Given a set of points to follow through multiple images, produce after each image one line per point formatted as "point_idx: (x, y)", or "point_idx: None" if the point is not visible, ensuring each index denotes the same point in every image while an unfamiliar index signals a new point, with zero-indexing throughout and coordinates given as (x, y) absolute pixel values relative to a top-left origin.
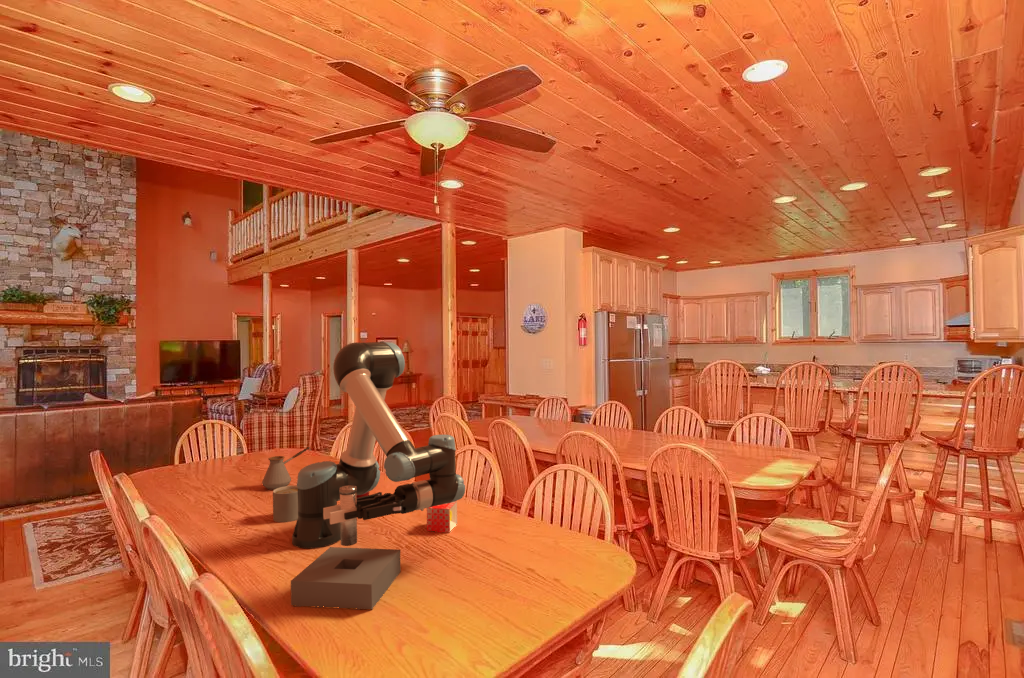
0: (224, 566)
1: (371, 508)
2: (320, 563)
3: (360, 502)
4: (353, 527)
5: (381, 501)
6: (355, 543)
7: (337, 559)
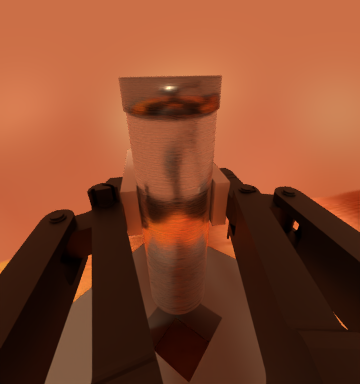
0: (318, 203)
1: (33, 245)
2: (216, 267)
3: (245, 228)
4: (146, 256)
5: (112, 377)
6: (156, 304)
7: (225, 302)
